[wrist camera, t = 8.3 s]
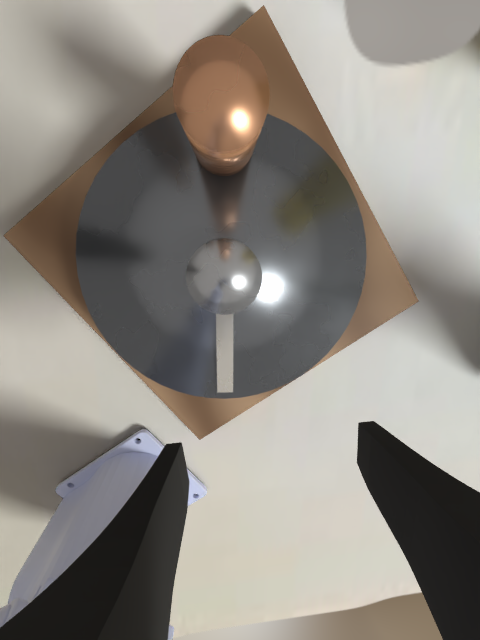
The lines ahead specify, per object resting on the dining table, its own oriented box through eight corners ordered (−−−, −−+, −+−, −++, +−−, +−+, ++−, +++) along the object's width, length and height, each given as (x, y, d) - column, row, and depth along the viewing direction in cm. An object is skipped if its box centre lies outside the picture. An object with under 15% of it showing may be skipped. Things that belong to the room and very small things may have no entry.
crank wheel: (340, 387, 20) (391, 460, 14) (106, 390, 20) (49, 469, 13) (377, 118, 15) (483, 45, 9) (62, 109, 14) (-64, 23, 8)
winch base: (200, 430, 23) (199, 439, 22) (15, 234, 17) (3, 235, 17) (409, 297, 20) (418, 301, 19) (261, 19, 15) (263, 5, 14)
